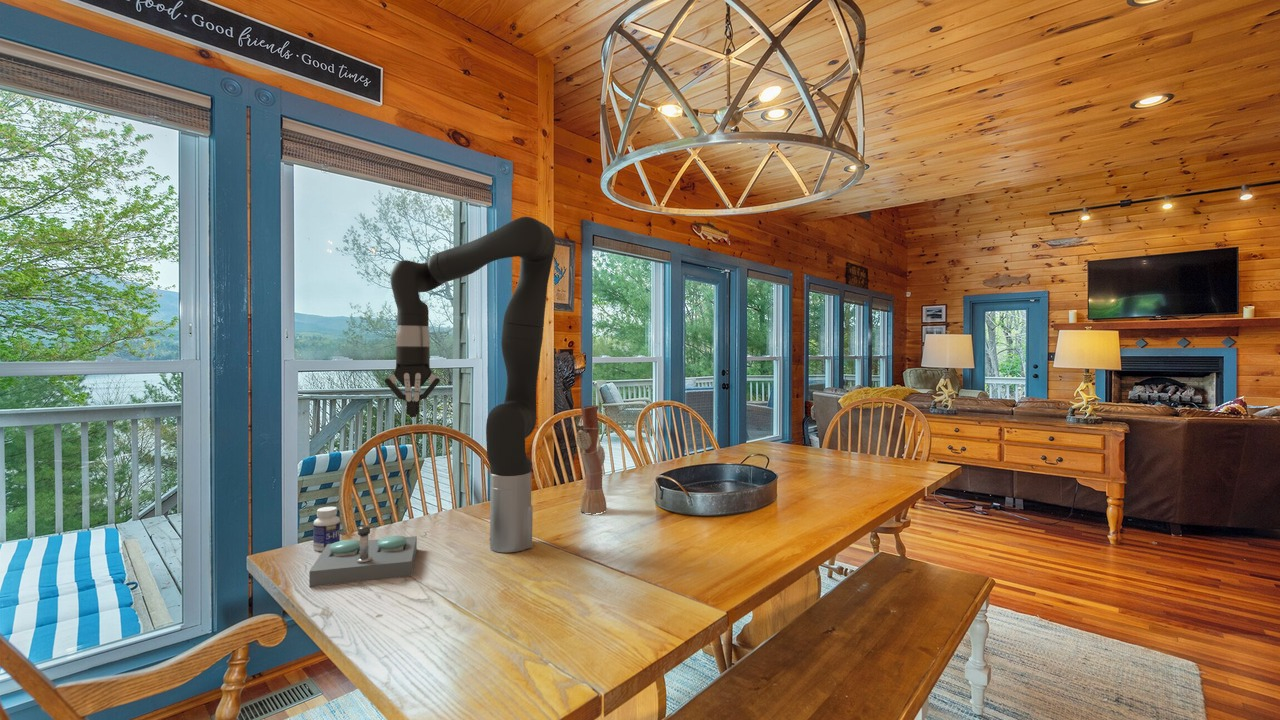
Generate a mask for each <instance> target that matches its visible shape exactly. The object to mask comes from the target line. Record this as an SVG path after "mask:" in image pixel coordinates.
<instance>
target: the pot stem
mask: <svg viewBox="0 0 1280 720" xmlns="http://www.w3.org/2000/svg"><path fill="white" fill-rule="evenodd" d="M370 533H371V525H362V526H361V525H360V526H358V527H357V535H358V536H359V541H360V557H358V558H357V559H356V562H357V563H367V562H370V561H371V560H372V557H371V556H369V540H370V539H369V538H370V537H369V534H370Z"/></svg>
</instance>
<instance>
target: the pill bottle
mask: <svg viewBox="0 0 1280 720" xmlns="http://www.w3.org/2000/svg"><path fill="white" fill-rule="evenodd" d="M337 514H338V507H337V506H324V507H320V508H318V509H317V510H316V517H317V518H316V519H314V520H313V528H312V529H313V532H312V533H313V535H312V536H313V542H312V543H313V544H312V545H313V551H316V552H323V550H324V549H325V547H326V546H327V544H331V543H335V542H338V541H341V539H340V538H341V535H340V534H341V520H340V518H339V517H338V516H337Z"/></svg>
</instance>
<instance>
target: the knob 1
mask: <svg viewBox="0 0 1280 720" xmlns="http://www.w3.org/2000/svg"><path fill="white" fill-rule="evenodd" d="M359 548H360V539H343V540H340V541H338V542H335V543H333V544H331V545H330V552H332V553H334V556H344V555H355V554H357V550H358V549H359Z"/></svg>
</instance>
